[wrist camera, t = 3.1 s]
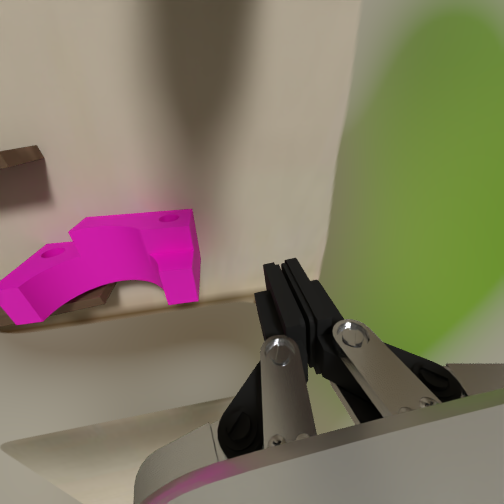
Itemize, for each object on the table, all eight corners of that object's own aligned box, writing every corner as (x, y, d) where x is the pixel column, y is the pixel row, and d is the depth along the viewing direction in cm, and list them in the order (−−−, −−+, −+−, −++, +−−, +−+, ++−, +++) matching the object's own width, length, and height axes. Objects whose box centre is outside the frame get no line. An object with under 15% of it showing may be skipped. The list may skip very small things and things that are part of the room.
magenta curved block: (192, 208, 24) (186, 241, 17) (200, 257, 27) (198, 301, 21) (35, 220, 22) (-36, 263, 15) (64, 272, 25) (16, 325, 19)
